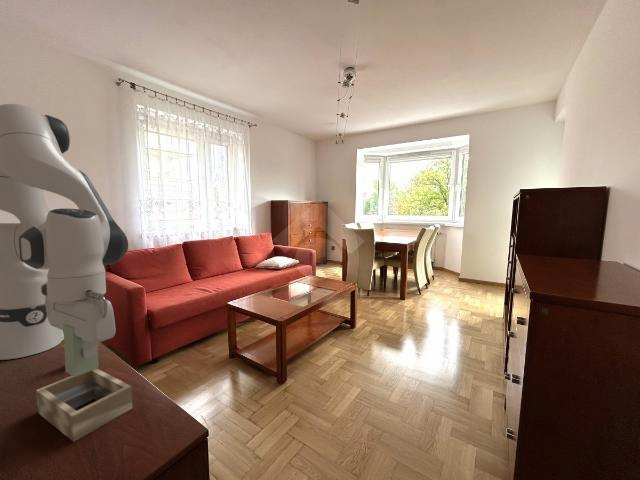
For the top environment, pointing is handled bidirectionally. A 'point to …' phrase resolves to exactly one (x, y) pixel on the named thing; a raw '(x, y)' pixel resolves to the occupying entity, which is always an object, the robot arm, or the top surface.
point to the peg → (77, 354)
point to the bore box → (83, 402)
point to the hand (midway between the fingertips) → (81, 352)
